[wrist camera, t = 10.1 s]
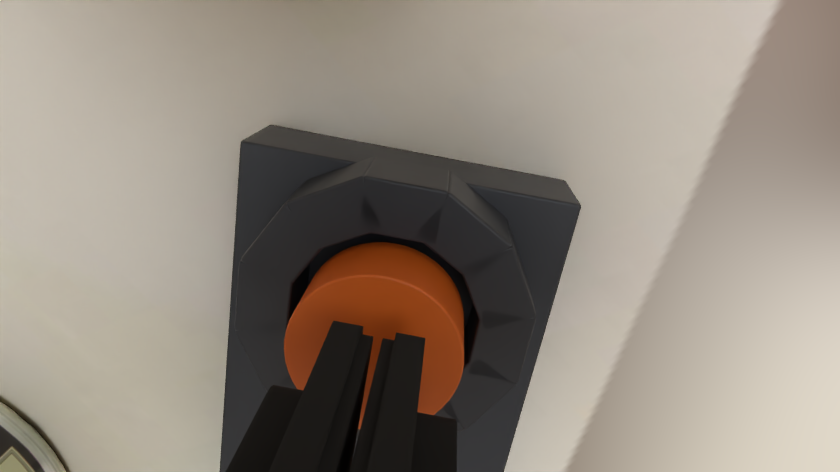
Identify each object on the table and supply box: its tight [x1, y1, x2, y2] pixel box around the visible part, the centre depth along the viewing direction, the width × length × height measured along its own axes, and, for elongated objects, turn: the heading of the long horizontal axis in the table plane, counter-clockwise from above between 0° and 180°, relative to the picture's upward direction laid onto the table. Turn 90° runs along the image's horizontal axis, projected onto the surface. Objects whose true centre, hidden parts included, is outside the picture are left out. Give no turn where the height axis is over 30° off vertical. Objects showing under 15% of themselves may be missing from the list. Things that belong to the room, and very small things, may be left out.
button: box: [284, 242, 464, 429], centre depth 12 cm, size 4×4×2 cm
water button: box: [220, 125, 581, 472], centre depth 16 cm, size 16×8×4 cm, turn 170°
